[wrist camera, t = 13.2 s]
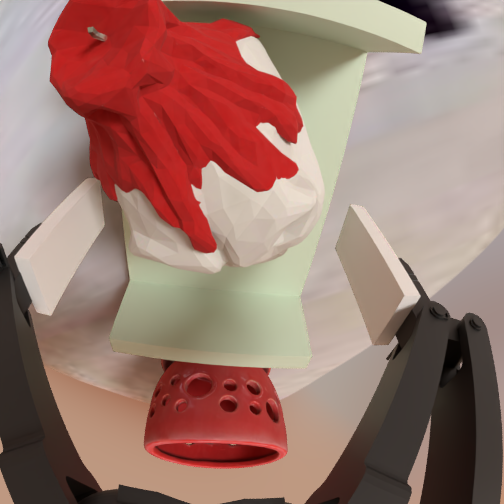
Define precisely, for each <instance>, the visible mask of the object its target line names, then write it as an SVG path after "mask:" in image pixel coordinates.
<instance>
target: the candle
mask: <svg viewBox="0 0 504 504" xmlns="http://www.w3.org/2000/svg"><path fill="white" fill-rule="evenodd" d="M257 38H260V35H258V34H256V33H255V32H254V31H253V29H252V28H251V27H249V26H246V25H244V24H241V23H238V22H235V21H232V20H228V19H223V18H222V19H219V20H217V21H214V22H212V23H195V22H181V21H180V20H179V19H178V18H177V17H176V16H175V15H174V14H173V13H172V12H171V11H170V10H169V9H168V8H167V7H166V6H165V4H164V3H163V2H162V1H161V0H69V2H68V3H67V5H66V6H65V8H64V10H63V11H62V13H61V15H60V16H59V18H58V20H57V22H56V24H55V26H54V28H53V31H52V33H51V36H50V38H49V41H48V47H49V49H50V52H51V55H52V61H51V73H50V82H51V83H52V85H53V86H54V87H55V88H56V90H57V91H58V93H59V94H60V96H61V97H62V98H63V100H64V101H65V103H66V104H67V105H68V106H69V107H70V108H71V109H73V110H74V111H75V112H76V113H77V114H79V115H80V116H82V117H84V118H85V121H86V125H87V129H88V133H89V137H90V147H89V150H90V166H91V169H92V172H93V175H94V177H95V178H96V179H97V180H100V182H101V185H102V188H103V190H104V192H105V193H106V195H107V196H108V197H109V198H110V199H111V200H114V201H117V202H119V204H120V206H121V207H122V209H123V211H124V214H125V216H126V218H127V220H128V223H129V226H130V231H131V235H130V240H129V246H128V248H129V250H130V252H131V253H132V254H133V255H134V256H138V257H141V258H145V259H149V260H152V261H156V262H160V263H163V264H166V265H168V266H171V267H174V268H177V269H182V270H188V271H194V272H200V273H206V274H214V273H216V272H219V271H221V268H222V267H223V266H228V267H248V266H251V265H255V264H259V263H264V262H268V261H271V260H274V259H276V258H278V257H280V256H282V255H284V254H285V252H286V251H287V249H288V248H290V247H293V246H296V245H298V244H299V243H301V242H302V241H303V240H304V239H305V238H306V237H307V236H308V235H309V234H310V232H311V231H312V229H313V228H314V226H315V225H316V223H317V222H318V220H319V218H320V216H321V213H322V207H323V202H324V196H325V188H324V183H323V179H322V175H321V171H320V168H319V164H318V161H317V159H316V156H315V154H314V151H313V149H312V147H311V143H310V140H309V137H308V134H307V131H306V127H305V124H304V121H303V118H302V115H301V112H300V110H299V107H298V104H297V102H296V100H297V96H296V95H295V93H294V91H293V90H292V89H291V87H290V86H289V85H288V84H287V83H286V82H285V81H284V80H282V78H281V77H280V75H279V73H278V71H277V70H276V68H275V66H274V65H273V63H272V61H271V60H270V58H269V56H268V54H267V52H266V50H265V48H264V46H263V45H262V44H261V42H260V41H259V40H258V39H257Z"/></svg>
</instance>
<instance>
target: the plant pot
mask: <svg viewBox="0 0 504 504" xmlns="http://www.w3.org/2000/svg"><path fill="white" fill-rule="evenodd" d="M161 364H162V368H163V370H164V371H165V372H164V374H163V375H162V377H161V378H160V380H159V382H158V384H157V386H156V388H155V391H154V393H153V396H152V400H151V405H150V409H149V413H148V417H147V423H146V429H145V436H144V447H145V449H146V450H147V451H148V452H149V453H150V454H151V455H153V456H155V457H158V458H160V459H163V460H166V461H169V462H173V463H178V464H182V465H187V466H194V467H204V468H244V467H253V466H259V465H263V464H268V463H271V462H274V461H277V460H279V459H281V458H283V457H284V456H285V455H286V454H287V451H288V449H287V435H286V428H285V423H284V418H283V412H282V408H281V404H280V401H279V398H278V395H277V393H276V390H275V388H274V386H273V384H272V382H271V380H270V378H269V377H268V375H269V373H270V369H271V368H258V367H239V366H224V365H212V364H201V363H191V362H182V361H173V360H165V359H161ZM186 443H192V444H189V445H188V444H186ZM230 444H236V445H230Z"/></svg>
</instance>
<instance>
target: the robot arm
mask: <svg viewBox="0 0 504 504" xmlns="http://www.w3.org/2000/svg"><path fill="white" fill-rule="evenodd" d="M104 226H105V222H104V214H103V205H102V195H101V184H100V180H97V179H96V178H86V179H85V180H84V181H83V182H82V183H81V184H80V185H79V186H78V187H77V188H76V189H75V190H74V191H73V192H72V193H71V194H70V195H69V196H68V197H67V198H66V199H65V200H64V201H63V202H62V203H61V204H60V205H59V206H58V207H57V208H56V209H55V210H54V211H53V212H52V213H51V214H50V216H49V217H48V218H47V219H46V220H45V221H44V222H43V223H40V224H38V225H37V226H35V227H34V228H32V229H31V230H30V231H29V232H28V234H27V235H26V236H25V238H23V239H22V240H21V242H20V243H19V244H18V245H17V246H16V248H15V249H14V250H13V251H12V252H11V254H10V255H9V256H8V257H7V258H6V255H5V252H4V249H3V246H2V244H1V243H0V438H1V441H2V444H3V452H2V453H1V454H0V469H1V472H2V475H3V477H4V480H5V482H6V485H7V488H8V490H9V492H10V495H11V497H12V500H13V502H14V504H190V503H187V502H184V501H181V500H178V499H175V498H172V497H169V496H167V495H164V494H161V493H159V492H154V491H148V490H143V489H138V488H133V487H128V486H123V485H119V488H118V489H114V490H106V491H102V489H101V488H100V486H99V485H98V483H97V481H96V480H95V478H94V477H93V476H92V474H91V473H90V472H89V471H88V469H87V468H86V467H85V466H84V464H83V462H82V460H81V459H80V457H79V455H78V453H77V451H76V449H75V447H74V445H73V442H72V440H71V438H70V436H69V434H68V431H67V429H66V427H65V424H64V422H63V420H62V417H61V415H60V412H59V409H58V407H57V404H56V402H55V399H54V396H53V393H52V390H51V388H50V385H49V382H48V379H47V376H46V372H45V369H44V366H43V362H42V359H41V355H40V352H39V348H38V344H37V340H36V336H35V332H34V327H33V323H32V318H31V314H30V312H29V310H28V308H29V306H30V304H31V303H33V305H34V308H35V310H36V312H37V313H41V314H46V315H50V316H51V315H52V313H53V311H54V309H55V308H56V306H57V304H58V302H59V300H60V298H61V296H62V294H63V293H64V291H65V289H66V287H67V286H68V284H69V282H70V280H71V279H72V277H73V275H74V273H75V272H76V270H77V268H78V267H79V265H80V263H81V262H82V260H83V258H84V257H85V255H86V254H87V252H88V250H89V249H90V247H91V246H92V244H93V242H94V241H95V239H96V238H97V236H98V235H99V233H100V232H101V230H102V229H103V227H104ZM335 249H336V251H337V254H338V256H339V258H340V261H341V263H342V265H343V268H344V270H345V273H346V275H347V278H348V280H349V283H350V285H351V288H352V290H353V293H354V295H355V298H356V300H357V303H358V306H359V308H360V311H361V313H362V316H363V319H364V322H365V324H366V327H367V330H368V332H369V335H370V338H371V341H372V344H373V345H389V343H390V342H391V340H392V339H393V338H394V336H395V335H396V337H397V340H398V344H397V345H396V347H395V348H394V349H393V350H392V352H391V353H390V354H389V356H388V357H387V358H386V359H387V360H389V359H390V360H389V362H388V365H387V367H386V369H385V371H384V374H383V377H382V378H381V381H380V383H379V385H378V387H377V390H376V391H375V394H374V396H373V398H372V400H371V402H370V404H369V406H368V408H367V410H366V412H365V414H364V416H363V418H362V419H361V421H360V423H359V425H358V427H357V429H356V431H355V432H354V434H353V436H352V438H351V440H350V442H349V443H348V445H347V447H346V448H345V450H344V452H343V454H342V455H341V457H340V459H339V460H338V462H337V463H336V465H335V467H334V468H333V470H332V471H331V473H330V474H329V476H328V477H327V479H326V480H325V482H324V483H323V484H322V485H321V486H320V487H319V488H318V489H317V490H316V491H315V492H314V493H313V494H312V495H311V496H310V498H309V499H308V500H307V501H306V503H305V504H408V502H409V499H410V496H411V493H412V492H411V487H410V486H409V485H408V484H407V480H408V477H409V474H410V472H411V470H412V467H413V465H414V462H415V459H416V457H417V454H418V452H419V449H420V446H421V443H422V440H423V438H424V435H425V432H426V428H427V425H428V422H429V419H430V416H431V428H430V440H429V450H428V458H427V465H426V472H425V479H424V484H423V490H422V495H421V500H420V504H500V497H501V486H502V462H503V449H502V423H501V410H500V400H499V392H498V384H497V378H496V372H495V366H494V360H493V355H492V351H491V345H490V341H489V336H488V332H487V328H486V326H485V324H484V322H483V321H482V319H481V318H479V316H477V315H475V314H473V313H467V314H466V315H465V316H464V317H463V319H462V320H461V321H459V320H456V319H453V318H450V315H449V313H448V311H447V310H446V309H445V308H444V307H443V306H442V305H441V304H439V303H437V302H434V301H430V299H429V298H428V296H427V294H426V293H425V291H424V289H423V288H422V286H421V284H420V283H419V281H418V279H417V278H416V276H415V275H414V273H413V271H412V270H411V268H410V267H409V265H408V264H407V263H406V262H404V261H403V260H402V259H401V258H398V257H397V256H396V254H395V253H394V251H393V250H392V248H391V246H390V245H389V243H388V242H387V240H386V239H385V237H384V236H383V234H382V233H381V231H380V230H379V228H378V227H377V225H376V224H375V223H374V221H373V220H372V218H371V217H370V215H369V214H368V213H367V211H366V210H365V208H364V207H363V206H358V205H352V204H350V206H349V209H348V212H347V215H346V218H345V221H344V224H343V227H342V230H341V233H340V236H339V239H338V242H337V245H336V247H335ZM461 362H462V367H461V369H460V363H461ZM222 504H291V503H286V502H285V499H284V498H267V499H242V500H237V501H232V502H227V503H222Z"/></svg>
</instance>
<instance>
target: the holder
mask: <svg viewBox="0 0 504 504" xmlns="http://www.w3.org/2000/svg"><path fill="white" fill-rule="evenodd" d="M161 1H162V2H163V3H164V4H165V6H166V7H167V8H168V9H169V10H170V11H171V12H172V13H173V14H174V15H175V16H176V17H177V18H178V19H179V20H180V21H181V22H195V23H212V22H214V21H217V20H219V19H222V18H223V19H228V20H232V21H235V22H238V23H241V24H244V25H246V26H249V27H251V28H252V29H253V31H254V32H255V33H256V34H258V35H260V38H257V39H258V40H259V41H260V42H261V44H262V45H263V46H264V48H265V50H266V52H267V54H268V56H269V58H270V60H271V61H272V63H273V65H274V66H275V68H276V70H277V71H278V73H279V75H280V77H281V78H282V80H284V81H285V82H286V83H287V84H288V85H289V86H290V87H291V89H292V90H293V91H294V93H295V95H296V96H297V100H296V102H297V104H298V107H299V110H300V112H301V115H302V118H303V121H304V124H305V127H306V131H307V134H308V137H309V140H310V143H311V147H312V149H313V151H314V154H315V156H316V159H317V161H318V164H319V168H320V171H321V175H322V179H323V183H324V188H325V196H324V202H323V207H322V213H321V216H320V218H319V220H318V222H317V223H316V225H315V226H314V228H313V229H312V231H311V232H310V234H309V235H308V236H307V237H306V238H305V239H304V240H303V241H302V242H301V243H299V244H298V245H296V246H293V247H290V248H288V249H287V251H286V252H285V254H284V255H282V256H280V257H278V258H276V259H274V260H271V261H268V262H264V263H259V264H255V265H251V266H248V267H228V266H223V267H222V268H221V271H219V272H216V273H214V274H206V273H200V272H194V271H188V270H182V269H177V268H174V267H171V266H168V265H166V264H163V263H160V262H156V261H152V260H149V259H145V258H141V257H138V256H134V255H133V254H132V253H131V252H130V250H129V248H128V246H129V240H130V235H131V231H130V226H129V223H128V220H127V218H126V216H125V214H124V211H123V209H122V219H123V229H124V239H125V247H126V255H127V263H128V270H129V277H130V282H129V284H128V287H127V289H126V292H125V295H124V297H123V300H122V302H121V305H120V308H119V311H118V313H117V316H116V319H115V322H114V324H113V327H112V330H111V333H110V336H109V340H110V343H111V346H112V349H113V351H114V352H120V353H125V354H131V355H138V356H144V357H151V358H158V359H165V360H173V361H182V362H191V363H201V364H212V365H224V366H239V367H258V368H306V367H307V365H308V363H309V362H310V360H311V358H312V353H311V347H310V342H309V337H308V332H307V327H306V322H305V317H304V313H303V308H302V303H301V298H300V296H301V293H302V290H303V287H304V284H305V281H306V278H307V275H308V272H309V269H310V266H311V263H312V260H313V257H314V254H315V251H316V247H317V244H318V241H319V238H320V235H321V232H322V228H323V225H324V222H325V218H326V215H327V212H328V208H329V205H330V202H331V198H332V195H333V191H334V188H335V184H336V181H337V177H338V173H339V170H340V166H341V162H342V159H343V155H344V151H345V147H346V144H347V140H348V136H349V132H350V128H351V124H352V120H353V115H354V111H355V107H356V103H357V98H358V94H359V90H360V85H361V81H362V76H363V71H364V66H365V62H366V57H367V52H397V53H416V54H421V52H422V46H423V41H424V35H425V29H426V22H424V21H422V20H420V19H418V18H416V17H414V16H412V15H410V14H408V13H406V12H404V11H401V10H399V9H397V8H394V7H392V6H390V5H387V4H385V3H382V2H380V1H377V0H161Z"/></svg>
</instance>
